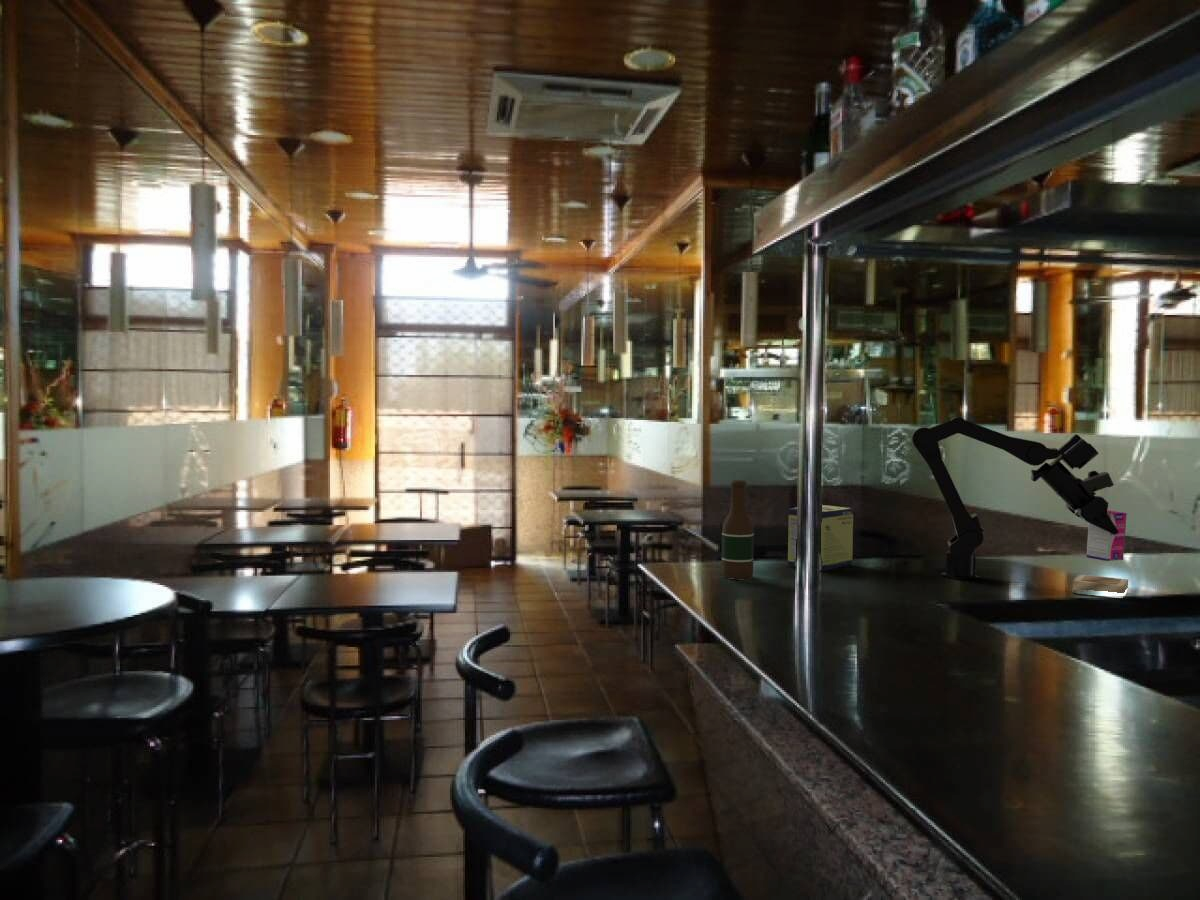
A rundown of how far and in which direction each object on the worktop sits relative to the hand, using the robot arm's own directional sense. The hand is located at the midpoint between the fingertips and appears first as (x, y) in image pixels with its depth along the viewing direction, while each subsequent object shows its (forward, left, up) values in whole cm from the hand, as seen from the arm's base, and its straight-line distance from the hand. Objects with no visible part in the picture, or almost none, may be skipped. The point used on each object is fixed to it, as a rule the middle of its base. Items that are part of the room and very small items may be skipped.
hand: (1112, 531), depth 213 cm
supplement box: (-1, +1, -7) cm, 7 cm away
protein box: (-52, +44, -13) cm, 69 cm away
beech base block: (-9, -5, -13) cm, 17 cm away
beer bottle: (-81, +35, -13) cm, 89 cm away
